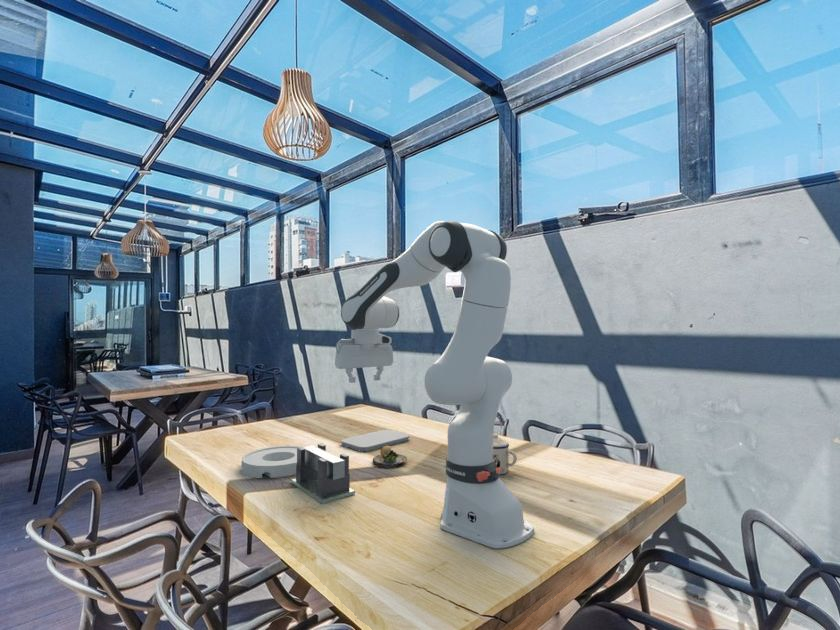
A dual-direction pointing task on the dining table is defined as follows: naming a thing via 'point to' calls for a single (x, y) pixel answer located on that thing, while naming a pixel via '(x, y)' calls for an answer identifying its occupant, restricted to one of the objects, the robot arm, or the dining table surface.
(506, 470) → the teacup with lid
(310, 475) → the bracket stand
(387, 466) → the burger
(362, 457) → the dining table surface
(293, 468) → the ashtray
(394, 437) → the tablet
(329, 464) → the rail
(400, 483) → the dining table surface
